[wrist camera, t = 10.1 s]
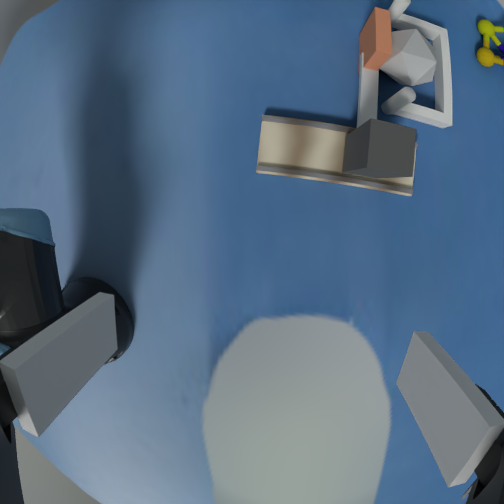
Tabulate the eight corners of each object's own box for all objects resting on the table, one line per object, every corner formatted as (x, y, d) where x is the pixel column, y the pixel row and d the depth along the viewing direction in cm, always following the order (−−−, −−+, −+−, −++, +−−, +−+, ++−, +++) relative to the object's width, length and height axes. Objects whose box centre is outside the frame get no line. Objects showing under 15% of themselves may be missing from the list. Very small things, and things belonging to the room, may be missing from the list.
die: (387, 32, 36) (369, 17, 29) (442, 43, 32) (436, 28, 25) (383, 80, 41) (365, 76, 34) (437, 93, 36) (432, 90, 29)
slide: (256, 172, 42) (256, 172, 40) (263, 116, 40) (262, 113, 39) (408, 196, 41) (413, 196, 39) (413, 142, 39) (418, 141, 37)
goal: (380, 113, 39) (401, 99, 31) (381, 16, 35) (396, -9, 27) (442, 129, 38) (470, 121, 30) (439, 35, 34) (460, 16, 26)
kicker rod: (340, 172, 41) (366, 167, 28) (349, 33, 36) (371, -12, 23) (374, 178, 40) (412, 176, 28) (381, 40, 36) (411, 0, 23)
